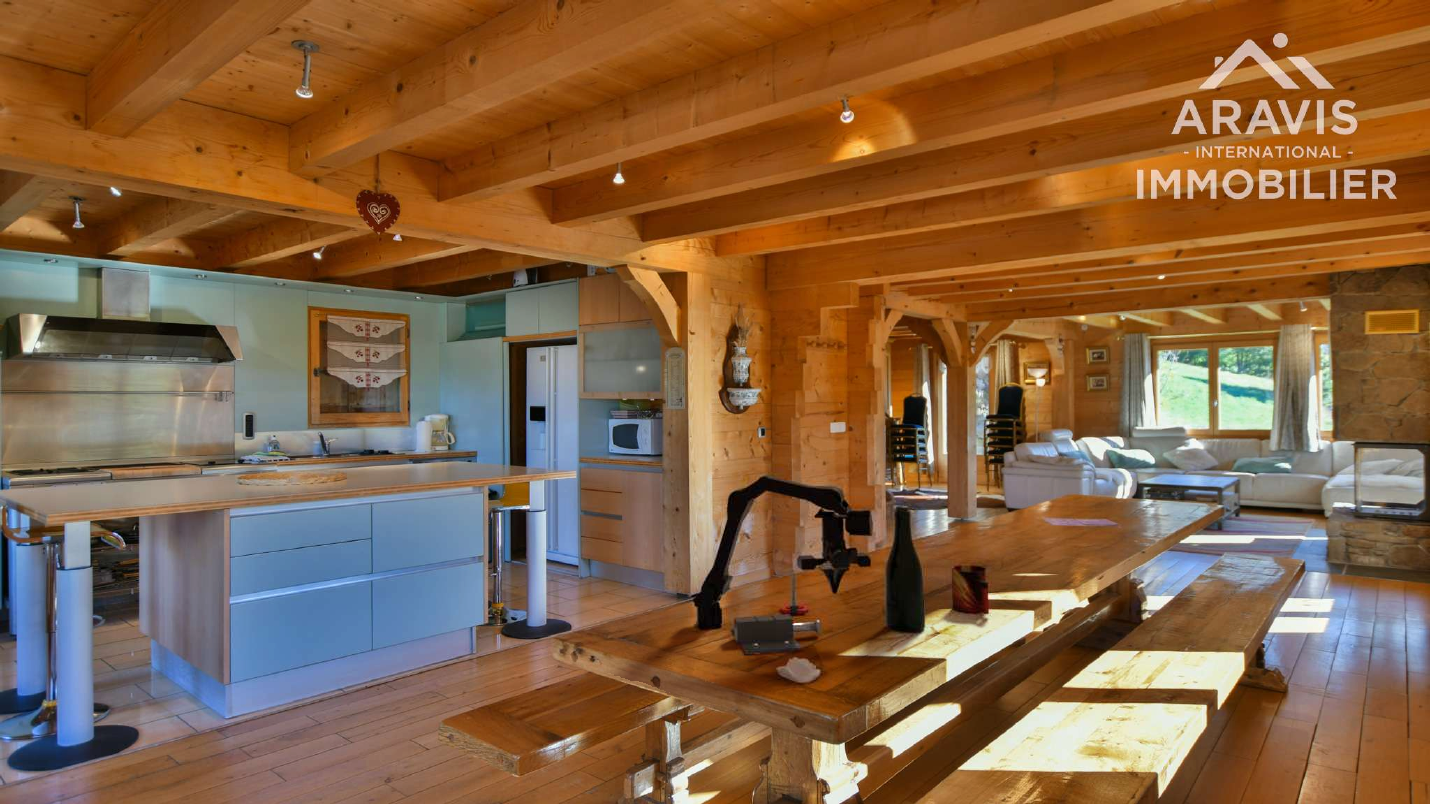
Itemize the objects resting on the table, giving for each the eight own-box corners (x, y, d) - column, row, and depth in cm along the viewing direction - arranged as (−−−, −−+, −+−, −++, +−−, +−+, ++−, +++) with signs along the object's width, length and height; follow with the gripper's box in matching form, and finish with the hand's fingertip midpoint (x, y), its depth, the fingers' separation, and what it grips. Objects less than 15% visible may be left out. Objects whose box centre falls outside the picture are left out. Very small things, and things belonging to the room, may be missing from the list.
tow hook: (781, 608, 241) (779, 614, 232) (780, 565, 242) (778, 570, 232) (809, 608, 240) (808, 615, 230) (808, 565, 240) (807, 570, 231)
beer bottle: (926, 623, 219) (923, 503, 219) (924, 634, 209) (920, 509, 209) (887, 621, 222) (884, 503, 222) (883, 632, 212) (880, 508, 212)
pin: (764, 638, 206) (764, 625, 206) (762, 634, 210) (761, 621, 210) (820, 634, 208) (820, 621, 208) (817, 631, 212) (817, 618, 212)
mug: (987, 618, 222) (986, 576, 222) (945, 609, 233) (944, 568, 233) (1007, 612, 228) (1005, 570, 228) (965, 603, 239) (964, 563, 239)
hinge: (743, 655, 196) (742, 631, 196) (729, 629, 218) (728, 608, 218) (801, 651, 198) (801, 627, 198) (782, 625, 220) (781, 605, 220)
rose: (772, 663, 177) (779, 649, 186) (772, 683, 177) (780, 668, 186) (817, 665, 174) (822, 651, 184) (817, 685, 174) (823, 671, 184)
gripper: (806, 541, 201) (807, 603, 201) (877, 538, 204) (878, 599, 204) (795, 534, 212) (797, 592, 212) (863, 531, 215) (864, 589, 215)
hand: (834, 593), depth 211 cm, fingers closed
